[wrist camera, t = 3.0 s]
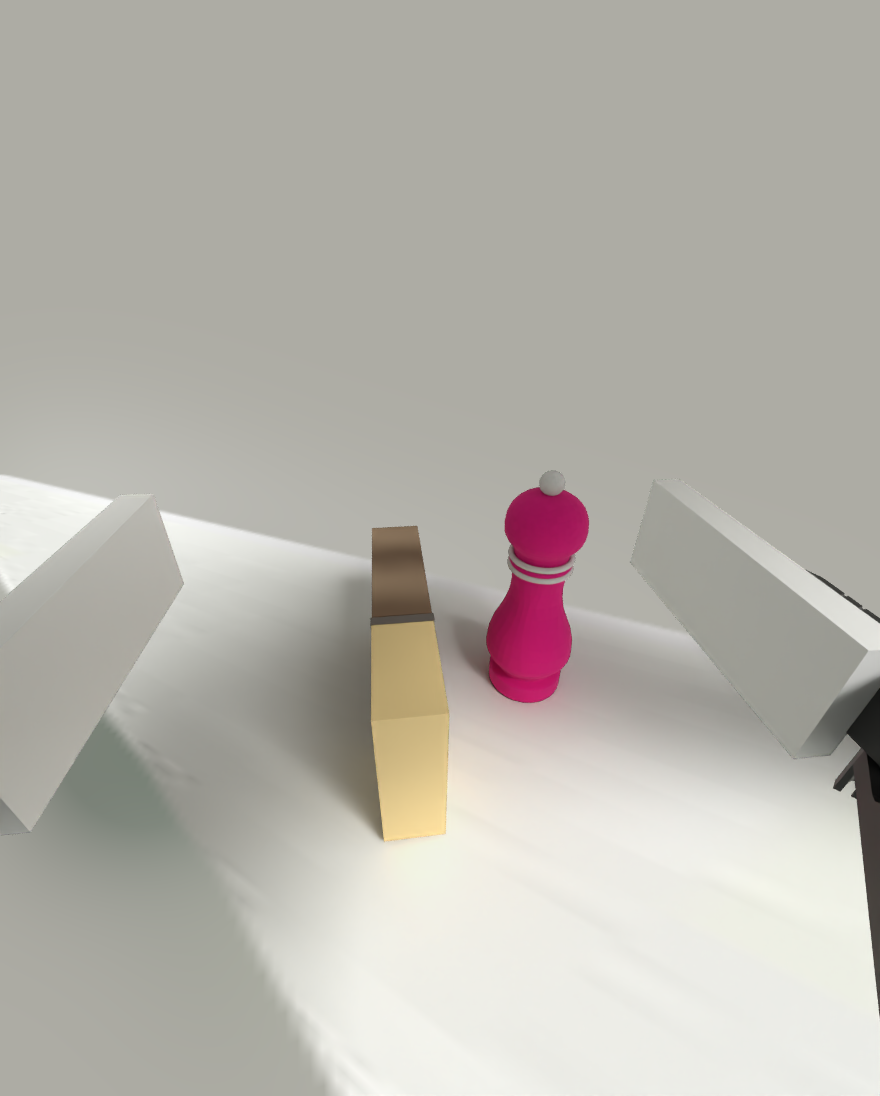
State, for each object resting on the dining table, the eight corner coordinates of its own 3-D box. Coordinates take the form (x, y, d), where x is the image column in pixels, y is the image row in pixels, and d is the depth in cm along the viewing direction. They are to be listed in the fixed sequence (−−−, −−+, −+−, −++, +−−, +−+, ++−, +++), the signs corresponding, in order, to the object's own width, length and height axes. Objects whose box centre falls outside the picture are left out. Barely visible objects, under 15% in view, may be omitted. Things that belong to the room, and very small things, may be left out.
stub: (446, 834, 30) (450, 712, 24) (383, 842, 30) (369, 720, 23) (432, 729, 37) (433, 612, 30) (381, 734, 36) (370, 617, 30)
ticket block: (431, 726, 37) (431, 612, 31) (382, 731, 37) (371, 616, 30) (419, 627, 47) (417, 525, 41) (380, 630, 47) (372, 528, 40)
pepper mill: (472, 655, 44) (486, 457, 33) (541, 641, 46) (574, 449, 35) (500, 716, 38) (527, 499, 27) (578, 698, 40) (632, 487, 29)
